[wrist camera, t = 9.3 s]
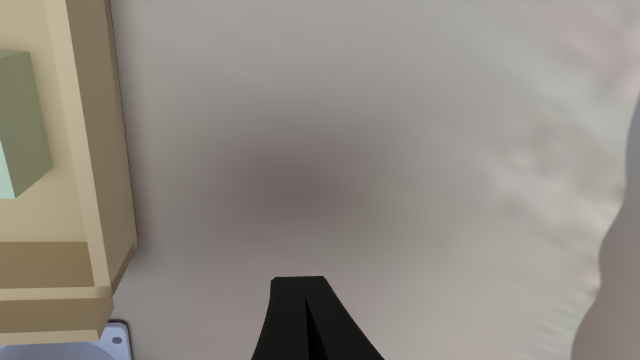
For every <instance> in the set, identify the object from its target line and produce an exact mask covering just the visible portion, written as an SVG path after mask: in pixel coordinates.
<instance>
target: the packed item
mask: <svg viewBox="0 0 640 360" xmlns="http://www.w3.org/2000/svg"><path fill="white" fill-rule="evenodd" d="M51 169H53V166H52V161H51V156H50V151H49V146H48V142H47V137H46V132H45V127H44V122H43V117H42V112H41V107H40V102H39V97H38V92H37V87H36V82H35V77H34V72H33V67H32V63H31V58H30V53H29V51H15V50H1V49H0V199H16V198H17V197H18V196H20V195H21V194H22V193H23V192H24V191H26V190H27V189H28V188H29V187H31V186H32V185H33V184H34V183H35V182H37V181H38V180H39V179H40V178H42V177H43V176H44V175H45V174H46V173H48V172H49V171H50V170H51Z"/></svg>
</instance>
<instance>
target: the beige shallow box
mask: <svg viewBox="0 0 640 360" xmlns="http://www.w3.org/2000/svg"><path fill="white" fill-rule="evenodd" d="M0 49H1V50H15V51H29V53H30V58H31V63H32V67H33V72H34V77H35V82H36V87H37V92H38V97H39V102H40V107H41V112H42V117H43V122H44V127H45V132H46V137H47V142H48V146H49V151H50V156H51V161H52V166H53V169H51V170H50V171H49V172H48V173H46V174H45V175H44V176H43V177H42V178H40V179H39V180H38V181H37V182H35V183H34V184H33V185H32V186H31V187H29V188H28V189H27V190H26V191H24V192H23V193H22V194H21V195H20V196H18V197H17V198H16V199H0V346H1V345H23V344H45V343H67V342H89V341H99V340H100V338H101V335H102V333H103V331H104V329H105V327H106V325H107V322H108V320H109V318H110V316H111V314H112V312H113V310H114V305H113V299H112V297H113V295H114V293H115V291H116V289H117V287H118V285H119V283H120V281H121V279H122V277H123V275H124V273H125V270H126V268H127V266H128V264H129V262H130V260H131V258H132V256H133V254H134V252H135V250H136V248H137V246H138V241H137V233H136V224H135V215H134V207H133V198H132V190H131V181H130V172H129V164H128V155H127V147H126V138H125V129H124V121H123V112H122V104H121V95H120V86H119V78H118V69H117V61H116V52H115V43H114V35H113V26H112V18H111V9H110V0H0Z"/></svg>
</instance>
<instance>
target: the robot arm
mask: <svg viewBox="0 0 640 360" xmlns="http://www.w3.org/2000/svg"><path fill="white" fill-rule="evenodd" d="M116 337H119V338H120V339H119V338H116ZM0 360H132V357H131V350H130V343H129V336H128V329H127V327H126V326H125V325H124V324H122V323H107V325H106V327H105V329H104V331H103V333H102V335H101V338H100V340H99V341H89V342H67V343H45V344H23V345H1V346H0ZM251 360H385V359H384V358H383V357H382V356H381V355H380V354H379V352H378V351H377V350H376V349H375V347H374V346H373V345H372V344H371V343H370V341H369V340H368V339H367V337H366V336H365V335H364V333H363V332H362V331H361V330H360V328H359V327H358V326H357V324H356V323H355V322H354V320H353V319H352V317H351V316H350V315H349V313H348V312H347V310H346V309H345V307H344V306H343V305H342V303H341V302H340V300H339V299H338V297H337V296H336V294H335V293H334V291H333V289H332V288H331V286H330V285H329V283H328V281H327V280H326V279H325V278H324V277H323V276H303V277H275V278H274V279H273V280H271V288H270V301H269V306H268V310H267V314H266V318H265V321H264V324H263V328H262V331H261V334H260V337H259V340H258V343H257V346H256V349H255V351H254V354H253V356H252V359H251Z"/></svg>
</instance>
